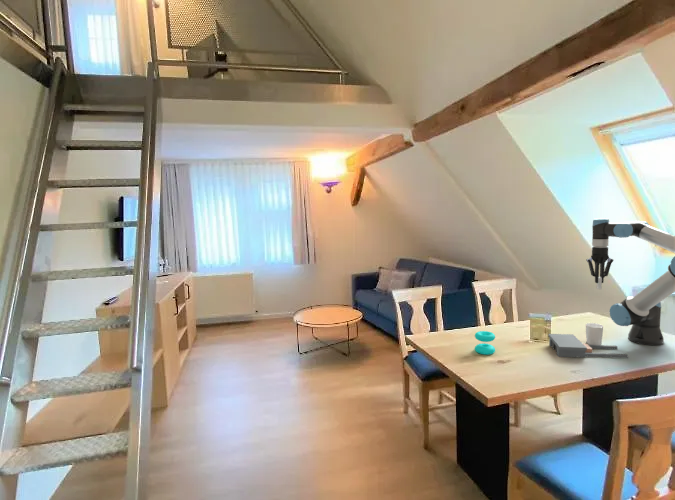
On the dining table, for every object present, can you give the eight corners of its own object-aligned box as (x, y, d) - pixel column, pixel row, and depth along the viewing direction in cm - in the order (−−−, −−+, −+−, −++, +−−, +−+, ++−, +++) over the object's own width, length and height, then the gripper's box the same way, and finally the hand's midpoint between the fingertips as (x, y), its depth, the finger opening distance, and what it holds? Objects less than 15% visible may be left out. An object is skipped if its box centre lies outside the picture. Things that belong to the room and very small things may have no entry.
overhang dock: (613, 345, 214) (613, 335, 213) (631, 360, 194) (631, 349, 194) (548, 343, 221) (548, 333, 220) (559, 358, 202) (559, 346, 201)
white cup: (605, 346, 214) (605, 327, 213) (588, 345, 216) (589, 327, 214) (599, 341, 222) (599, 323, 220) (582, 340, 223) (583, 322, 222)
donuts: (478, 329, 220) (497, 332, 214) (478, 347, 221) (497, 350, 215) (472, 334, 212) (491, 337, 206) (472, 353, 213) (491, 356, 207)
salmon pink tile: (586, 349, 211) (586, 343, 211) (592, 354, 204) (592, 348, 203) (556, 348, 215) (556, 342, 214) (561, 353, 207) (561, 348, 207)
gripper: (610, 245, 228) (609, 287, 230) (584, 246, 231) (583, 287, 233) (616, 247, 220) (615, 290, 223) (589, 247, 223) (588, 290, 226)
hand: (598, 288), depth 228 cm, fingers closed
